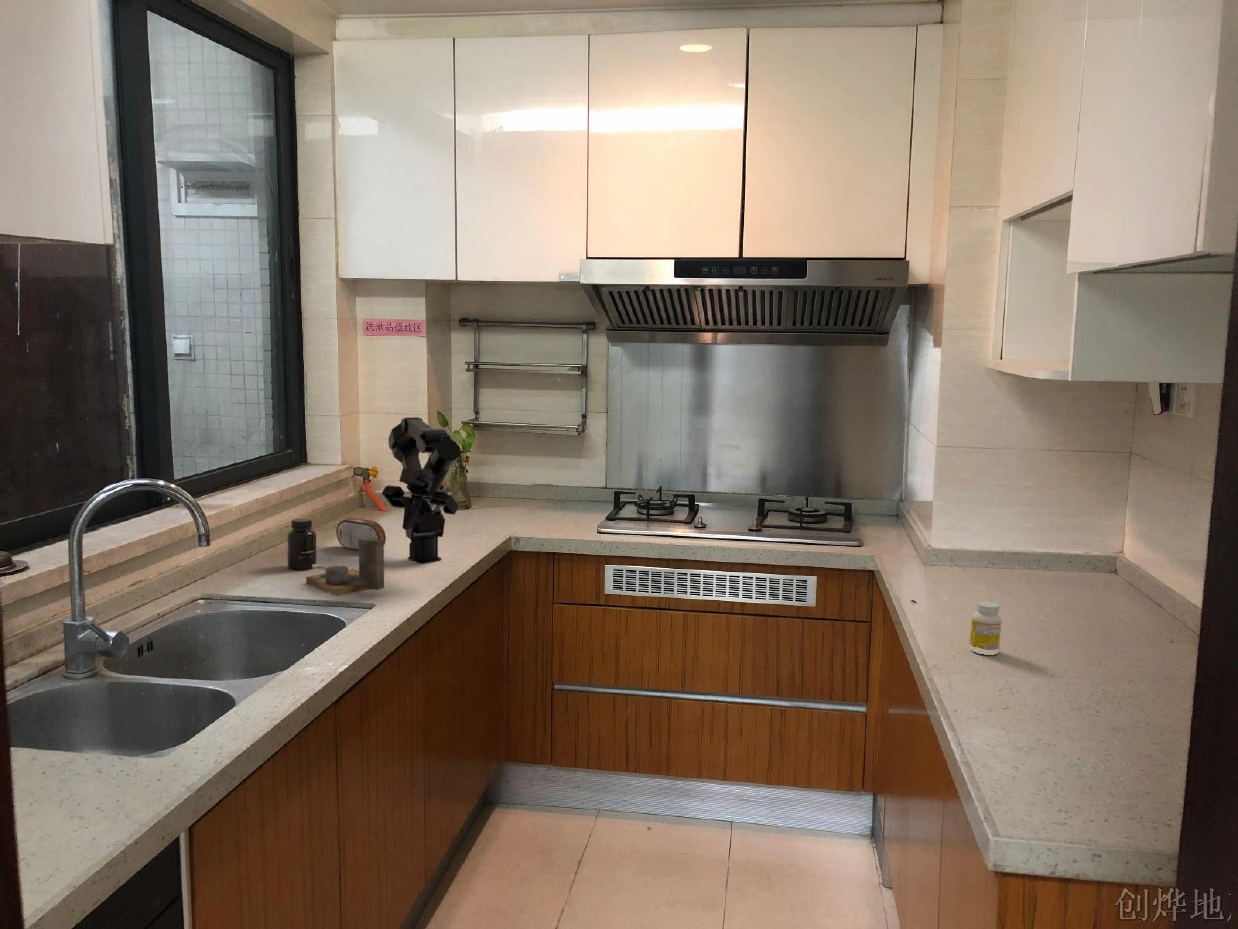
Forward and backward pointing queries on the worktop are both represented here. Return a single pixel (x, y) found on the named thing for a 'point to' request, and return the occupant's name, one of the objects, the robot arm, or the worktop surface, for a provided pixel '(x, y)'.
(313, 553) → the supplement bottle
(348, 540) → the tin
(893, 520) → the worktop surface
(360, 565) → the upright block on board
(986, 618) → the supplement bottle
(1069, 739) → the worktop surface
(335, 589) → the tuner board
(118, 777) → the worktop surface
